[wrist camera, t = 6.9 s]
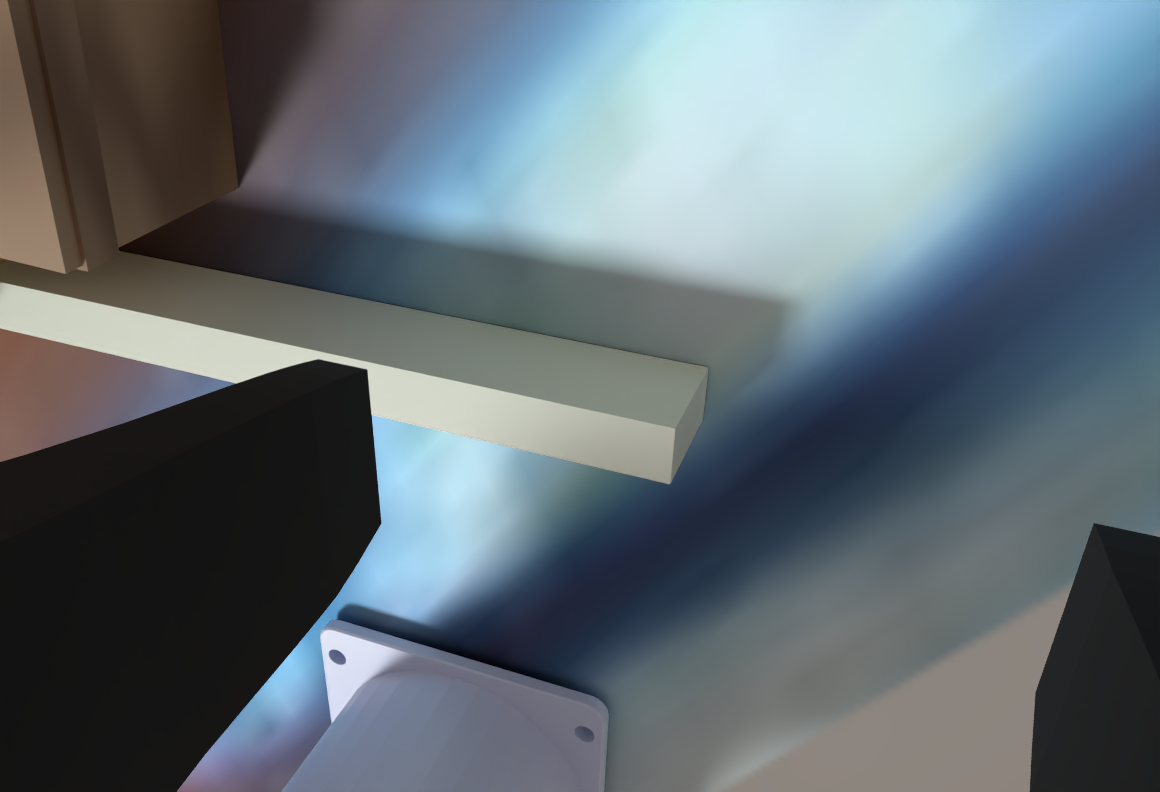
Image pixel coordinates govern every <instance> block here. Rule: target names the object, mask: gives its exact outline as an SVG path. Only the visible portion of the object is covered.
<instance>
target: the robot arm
mask: <svg viewBox="0 0 1160 792" xmlns="http://www.w3.org/2000/svg"><path fill="white" fill-rule="evenodd" d="M380 525H381V515H380V504H379V493H378V481H377V470H376V459H375V448H374V437H373V426H372V415H371V404H370V393H369V382H368V371H367V369H363V368H358V367H353V366H349V365H344V364H339V363H334V362H330V361H325V360H320V359H317V360H313V361H308V362H304V363H300V364H296V365H292V366H289V367H285V368H282V369H279V370H276V371H273V372H269V373H266V374H263V375H260V376H257V377H254V378H251V379H248V380H245V381H243V382H240V383H237V384H234V385H231V386H228V387H225V388H222V389H220V390H217V391H214V392H211V393H208V394H206V395H203V396H200V397H197V398H194V399H191V400H189V401H186V402H183V403H180V404H177V405H174V406H172V407H169V408H166V409H163V410H160V411H157V412H155V413H152V414H149V415H146V416H143V417H140V418H138V419H135V420H132V421H129V422H126V423H123V424H120V425H117V426H114V427H111V428H108V429H104V430H101V431H98V432H95V433H92V434H89V435H86V436H83V437H80V438H76V439H73V440H70V441H67V442H64V443H61V444H58V445H55V446H52V447H48V448H45V449H42V450H39V451H36V452H33V453H30V454H27V455H23V456H20V457H16V458H13V459H10V460H6V461H3V462H0V792H177V790H178V789H179V788H180V786H181V785H182V784H183V783H184V781H185V780H186V779H187V777H188V776H189V775H190V773H191V772H192V771H193V770H194V768H195V767H196V766H197V764H198V763H199V762H200V760H201V759H202V758H203V757H204V755H205V754H206V753H207V752H208V750H209V749H210V748H211V747H212V746H213V744H214V743H215V742H216V741H217V740H218V738H219V737H220V736H221V735H222V734H223V733H224V731H225V730H226V729H227V728H228V727H229V725H230V724H231V723H232V722H233V721H234V719H235V718H236V717H237V716H238V715H239V714H240V712H241V711H242V710H243V709H244V708H245V706H246V705H247V704H248V703H249V702H250V700H251V699H252V698H253V697H254V696H255V694H256V693H257V692H258V691H259V690H260V689H261V687H262V686H263V685H264V684H265V683H266V681H267V680H268V679H269V678H270V677H271V675H272V674H273V673H274V672H275V671H276V670H277V668H278V667H279V666H280V665H281V664H282V662H283V661H284V660H285V659H286V658H287V656H288V655H289V654H290V653H291V652H292V650H293V649H294V648H295V647H296V646H297V644H298V643H299V642H300V641H301V640H302V638H303V637H304V636H305V635H306V633H307V632H308V631H309V630H310V629H311V627H312V626H313V625H314V624H315V623H316V621H317V620H318V619H319V618H320V616H321V615H322V614H323V613H324V611H325V610H326V609H327V608H328V606H329V605H330V604H331V603H332V601H333V600H334V599H335V598H336V596H337V595H338V593H339V592H340V590H341V589H342V587H343V586H344V584H345V582H346V581H347V579H348V578H349V576H350V575H351V573H352V572H353V570H354V568H355V567H356V565H357V564H358V562H359V560H360V559H361V557H362V555H363V554H364V552H365V550H366V548H367V547H368V545H369V543H370V542H371V540H372V538H373V537H374V535H375V533H376V531H377V530H378V528H379V526H380ZM320 639H321V647H322V654H323V662H324V669H325V677H326V684H327V692H328V699H329V707H330V714H331V722H332V724H331V725H330V727H329V728H328V729H327V731H326V732H325V733H324V735H323V736H322V738H321V739H320V740H319V742H318V743H317V744H316V746H315V747H314V748H313V750H312V751H311V752H310V754H309V755H308V756H307V758H306V759H305V760H304V762H303V763H302V764H301V766H300V767H299V768H298V770H297V771H296V773H295V774H294V775H293V777H292V778H291V779H290V781H289V782H288V783H287V785H286V786H285V787H284V789H283V790H282V791H281V792H604V787H605V771H606V755H607V739H608V723H609V713H608V709H607V708H606V706H605V705H604V703H603V702H601V701H600V700H599V699H598V698H596V697H593V696H591V695H588V694H585V693H581V692H578V691H575V690H571V689H568V688H565V687H561V686H558V685H555V684H551V683H548V682H545V681H541V680H538V679H535V678H531V677H528V676H525V675H521V674H518V673H515V672H511V671H508V670H505V669H501V668H498V667H495V666H491V665H488V664H485V663H481V662H478V661H475V660H471V659H468V658H465V657H461V656H458V655H455V654H451V653H448V652H445V651H441V650H438V649H435V648H431V647H428V646H425V645H421V644H418V643H415V642H411V641H408V640H405V639H401V638H398V637H395V636H391V635H388V634H385V633H381V632H378V631H375V630H371V629H368V628H365V627H361V626H358V625H355V624H351V623H348V622H345V621H340V620H332V621H330V622H329V623H328V624H327V625H326V626H325V628H324V629H323V630H322V631H321V634H320ZM585 727H586V728H585ZM587 728H588V729H590V730H588V729H587ZM1030 792H1160V537H1156V536H1152V535H1147V534H1142V533H1137V532H1133V531H1128V530H1123V529H1119V528H1114V527H1109V526H1104V525H1100V524H1095V523H1094V525H1093V527H1092V530H1091V533H1090V536H1089V539H1088V542H1087V545H1086V548H1085V551H1084V554H1083V556H1082V559H1081V562H1080V565H1079V568H1078V571H1077V574H1076V577H1075V580H1074V583H1073V586H1072V588H1071V591H1070V594H1069V597H1068V600H1067V603H1066V606H1065V609H1064V612H1063V615H1062V618H1061V620H1060V623H1059V626H1058V629H1057V632H1056V635H1055V638H1054V642H1053V644H1052V647H1051V650H1050V652H1049V656H1048V658H1047V661H1046V664H1045V667H1044V670H1043V673H1042V676H1041V679H1040V681H1039V684H1038V687H1037V690H1036V696H1035V712H1034V727H1033V742H1032V760H1031V780H1030Z"/></svg>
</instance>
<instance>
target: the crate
mask: <svg viewBox="0 0 1160 792" xmlns="http://www.w3.org/2000/svg"><path fill="white" fill-rule="evenodd" d="M237 188H239V187H238V178H237V170H236V161H235V152H234V143H233V134H232V126H231V117H230V108H229V99H228V90H227V82H226V73H225V64H224V55H223V46H222V38H221V29H220V20H219V11H218V2H217V0H0V258H3V259H7V260H11V261H15V262H19V263H23V264H27V265H31V266H35V267H39V268H43V269H47V270H51V271H56V272H60V273H64V274H67V273H69V272H71V271H73V270H75V269H78V270H83V271H87V272H89V271H91V270H93V269H95V268H97V267H99V266H101V265H103V264H105V263H107V262H109V261H111V260H113V259H115V258H117V257H119V256H120V253H119V247H121V246H123V245H125V244H127V243H129V242H131V241H133V240H135V239H137V238H139V237H141V236H143V235H145V234H147V233H149V232H151V231H153V230H155V229H157V228H159V227H161V226H163V225H165V224H167V223H169V222H171V221H173V220H175V219H177V218H179V217H181V216H183V215H185V214H187V213H189V212H191V211H193V210H195V209H197V208H199V207H201V206H203V205H205V204H207V203H209V202H211V201H213V200H215V199H217V198H219V197H221V196H223V195H225V194H227V193H229V192H231V191H233V190H235V189H237Z"/></svg>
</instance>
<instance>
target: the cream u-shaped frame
mask: <svg viewBox="0 0 1160 792" xmlns="http://www.w3.org/2000/svg"><path fill="white" fill-rule="evenodd" d="M119 253H120V256H119V257H117V258H115V259H113V260H111V261H109V262H107V263H105V264H103V265H101V266H99V267H97V268H95V269H93V270H91V271H89V272H87V271H83V270H78V269H75V270H73V271H71V272H69V273H67V274H64V273H60V272H56V271H51V270H47V269H43V268H39V267H35V266H31V265H27V264H23V263H19V262H15V261H11V260H7V259H3V258H0V328H2V329H6V330H10V331H14V332H19V333H23V334H27V335H32V336H36V337H40V338H44V339H49V340H53V341H57V342H62V343H66V344H70V345H74V346H79V347H83V348H87V349H92V350H96V351H100V352H104V353H109V354H113V355H117V356H122V357H126V358H130V359H134V360H139V361H143V362H147V363H152V364H156V365H160V366H164V367H169V368H173V369H177V370H182V371H186V372H190V373H194V374H199V375H203V376H207V377H212V378H216V379H220V380H224V381H229V382H233V383H240V382H243V381H245V380H248V379H251V378H254V377H257V376H260V375H263V374H266V373H269V372H273V371H276V370H279V369H282V368H285V367H289V366H292V365H296V364H300V363H304V362H308V361H313V360H317V359H320V360H325V361H330V362H334V363H339V364H344V365H349V366H353V367H358V368H363V369H367V371H368V382H369V393H370V404H371V415H374V416H379V417H383V418H387V419H392V420H396V421H400V422H404V423H409V424H413V425H417V426H422V427H426V428H430V429H434V430H439V431H443V432H447V433H452V434H456V435H460V436H464V437H469V438H473V439H477V440H482V441H486V442H490V443H494V444H499V445H503V446H507V447H512V448H516V449H520V450H524V451H529V452H533V453H537V454H542V455H546V456H550V457H554V458H559V459H563V460H567V461H572V462H576V463H580V464H584V465H589V466H593V467H597V468H602V469H606V470H610V471H614V472H619V473H623V474H627V475H632V476H636V477H640V478H644V479H649V480H653V481H657V482H662V483H666V484H671V482H672V480H673V478H674V476H675V474H676V472H677V470H678V468H679V466H680V464H681V462H682V460H683V459H684V457H685V455H686V453H687V451H688V449H689V447H690V445H691V443H692V441H693V439H694V437H695V435H696V433H697V431H698V429H699V427H700V425H701V423H702V421H703V417H704V407H705V398H706V389H707V379H708V370H709V368H708V367H703V366H698V365H693V364H688V363H683V362H678V361H673V360H668V359H663V358H658V357H653V356H648V355H643V354H638V353H633V352H628V351H623V350H618V349H612V348H607V347H602V346H597V345H592V344H587V343H582V342H577V341H572V340H567V339H562V338H557V337H552V336H547V335H542V334H537V333H532V332H527V331H521V330H516V329H511V328H506V327H501V326H496V325H491V324H486V323H481V322H476V321H471V320H466V319H461V318H456V317H451V316H446V315H441V314H436V313H431V312H425V311H420V310H415V309H410V308H405V307H400V306H395V305H390V304H385V303H380V302H375V301H370V300H365V299H360V298H355V297H350V296H345V295H340V294H335V293H329V292H324V291H319V290H314V289H309V288H304V287H299V286H294V285H289V284H284V283H279V282H274V281H269V280H264V279H259V278H254V277H249V276H244V275H238V274H233V273H228V272H223V271H218V270H213V269H208V268H203V267H198V266H193V265H188V264H183V263H178V262H173V261H168V260H163V259H158V258H153V257H148V256H142V255H137V254H132V253H127V252H122V251H119Z"/></svg>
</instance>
